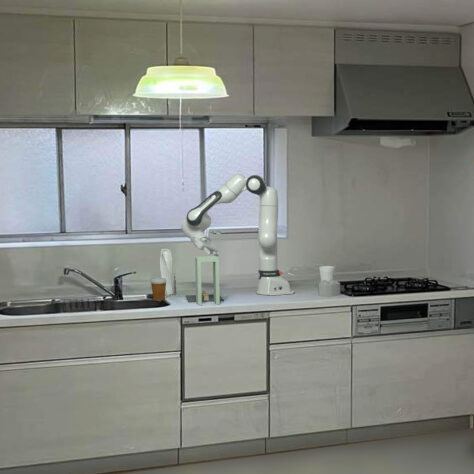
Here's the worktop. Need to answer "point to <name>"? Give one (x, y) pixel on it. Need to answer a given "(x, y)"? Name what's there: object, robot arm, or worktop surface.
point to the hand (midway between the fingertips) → (213, 255)
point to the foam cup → (326, 272)
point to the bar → (205, 295)
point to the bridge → (215, 278)
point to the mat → (193, 298)
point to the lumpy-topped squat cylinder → (328, 288)
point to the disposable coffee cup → (158, 288)
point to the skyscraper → (167, 271)
